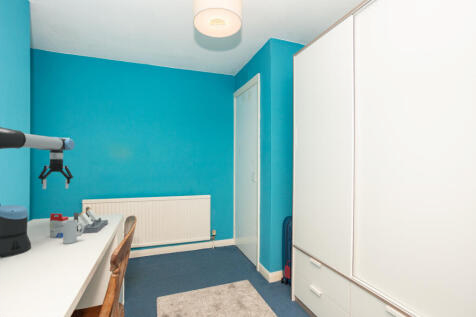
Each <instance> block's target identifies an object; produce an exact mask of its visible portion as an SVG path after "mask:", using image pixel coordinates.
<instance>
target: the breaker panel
mask: <svg viewBox="0 0 476 317" xmlns="http://www.w3.org/2000/svg"><path fill="white" fill-rule="evenodd" d="M98 218H99V219H98V220H94V221H93V220H92V222H93V223H92V224H88V226H87V225H86V224H85V225H83V226H84V231H83V233H82V234H92V233H95V234H96V233H98V232H100V230H101V231H102V229H103V228H105V227H106V226H107V225H108V224H109V223H108V222H109V220H108V219H102V217H98ZM81 231H82V227H81V228H79V233H81Z"/></svg>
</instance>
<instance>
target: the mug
mask: <svg viewBox="0 0 476 317" xmlns="http://www.w3.org/2000/svg"><path fill="white" fill-rule="evenodd" d="M77 226H78V227H79V226H80V227H81V228H82V231H81V233H80V232H79V233H78V231H77ZM84 226H85V225H84V223H83V221H80V222H78V223H77V220H74V219H68V221H64V222H63V237H62V241H63V244H64V245H69V244H74V243H76V242H77V238H78V237H81V236H82V235H83V234H84V233H83V231H84Z"/></svg>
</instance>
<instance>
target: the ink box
mask: <svg viewBox="0 0 476 317" xmlns="http://www.w3.org/2000/svg"><path fill="white" fill-rule="evenodd" d="M68 220H69V216H63V213H50V218H49V237H50V238H61V239H63V222H64V221H68Z"/></svg>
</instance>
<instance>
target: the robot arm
mask: <svg viewBox="0 0 476 317" xmlns="http://www.w3.org/2000/svg"><path fill="white" fill-rule="evenodd" d="M21 148H31V149H36V150H41V151H43V150H44V151H49V165H43V169H42V171H41V172H40V174H39V176H38V177H37V178H38V179H39V180H41V182H40V183H41V185H42V190H46V189H47V178H48V177H49V176H50V175H51V173H55V172H56V173H60V174H62V176H64V178H66V179H65V188H64V189H66V190H67V189H69V184H71V179H74V176H73V175H72V172H71V170H70V169H69V166H68V165H64V151H72V150H74V149H75V142H74V139H72V138H63V137H58V136H46V135H37V134H30V133H25V132H23V131H21V130H17V129H11V128H6V127H1V126H0V150H6V149H21ZM48 169H49V170H48ZM63 169H64V170H63ZM1 204H2V203H0V258H5V257H6V258H7V257H11V256H17V255H19V254H23V253H25V252H28V251H29V250H31V249H32V242H31V240H30V238H29V236H28V235H29V234H28V220H29V214H28V209H27V207H26V206H24V205H19V204H11V205H9V204H8V205H7V204H6V205H1Z"/></svg>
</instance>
